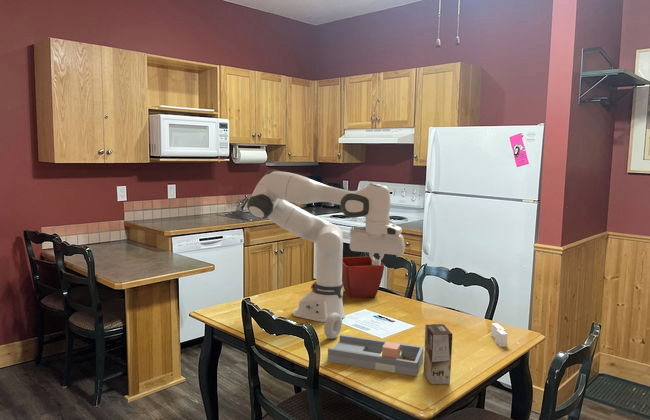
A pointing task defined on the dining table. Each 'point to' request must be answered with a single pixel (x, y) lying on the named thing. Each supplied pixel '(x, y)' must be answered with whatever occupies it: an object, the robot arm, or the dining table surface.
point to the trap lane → (375, 355)
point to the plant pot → (361, 277)
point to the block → (391, 350)
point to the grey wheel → (332, 325)
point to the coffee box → (437, 353)
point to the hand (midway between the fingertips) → (376, 264)
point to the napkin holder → (499, 334)
